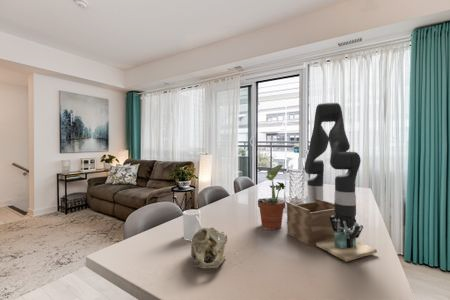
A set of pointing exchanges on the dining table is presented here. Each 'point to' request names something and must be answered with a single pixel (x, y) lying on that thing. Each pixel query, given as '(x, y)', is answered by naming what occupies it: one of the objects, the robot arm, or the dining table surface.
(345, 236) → the lid
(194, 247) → the skull
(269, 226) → the potted plant
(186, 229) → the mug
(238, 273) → the dining table surface
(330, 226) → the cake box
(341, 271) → the dining table surface
